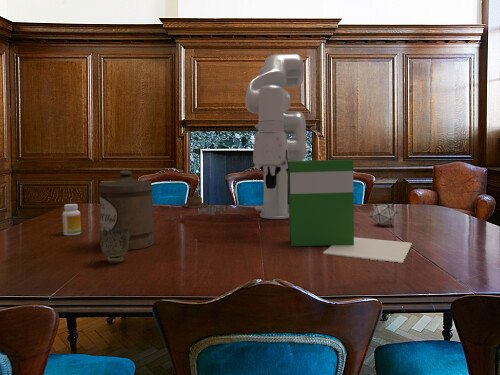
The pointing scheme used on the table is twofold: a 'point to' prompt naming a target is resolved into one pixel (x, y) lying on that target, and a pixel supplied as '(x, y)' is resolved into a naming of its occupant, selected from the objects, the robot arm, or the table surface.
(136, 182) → the wooden container
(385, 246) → the desk pad
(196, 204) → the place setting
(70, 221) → the supplement bottle
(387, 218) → the game die
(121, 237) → the cup
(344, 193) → the hardback book
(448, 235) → the table surface
